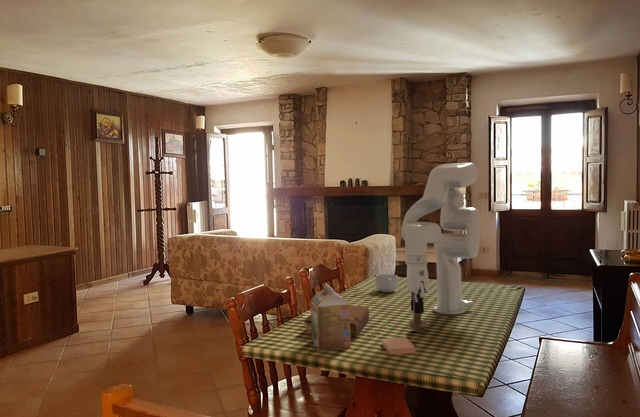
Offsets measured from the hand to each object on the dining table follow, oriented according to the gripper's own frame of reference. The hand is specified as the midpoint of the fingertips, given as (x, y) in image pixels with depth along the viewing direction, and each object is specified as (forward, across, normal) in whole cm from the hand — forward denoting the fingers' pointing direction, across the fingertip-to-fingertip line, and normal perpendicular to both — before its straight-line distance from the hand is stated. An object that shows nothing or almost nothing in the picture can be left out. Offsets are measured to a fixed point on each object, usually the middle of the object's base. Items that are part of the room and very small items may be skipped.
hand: (417, 311), depth 164 cm
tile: (+6, -10, +12) cm, 17 cm away
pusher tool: (+6, 0, 0) cm, 6 cm away
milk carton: (+7, -6, +32) cm, 33 cm away
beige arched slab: (+8, +12, +26) cm, 30 cm away
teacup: (+7, +64, -8) cm, 65 cm away
